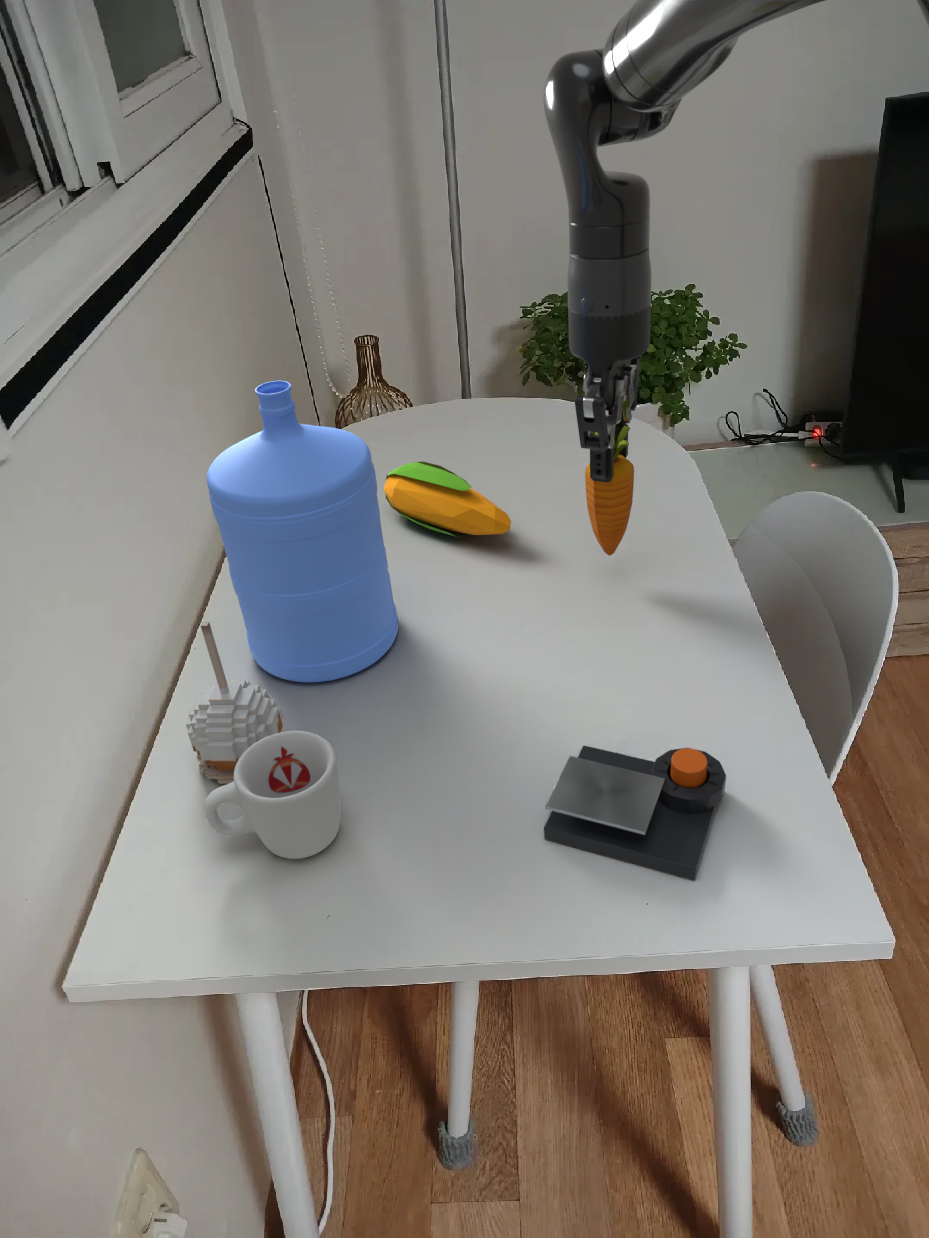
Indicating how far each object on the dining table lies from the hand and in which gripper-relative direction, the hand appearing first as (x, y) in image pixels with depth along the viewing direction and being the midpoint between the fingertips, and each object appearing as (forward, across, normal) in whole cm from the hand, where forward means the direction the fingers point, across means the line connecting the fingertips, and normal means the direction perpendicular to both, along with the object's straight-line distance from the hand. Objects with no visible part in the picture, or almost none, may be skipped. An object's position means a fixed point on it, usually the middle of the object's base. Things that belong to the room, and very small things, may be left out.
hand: (609, 468), depth 97 cm
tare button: (+12, -29, -15) cm, 35 cm away
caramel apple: (+14, -37, +23) cm, 46 cm away
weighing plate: (+11, -33, -10) cm, 37 cm away
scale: (+14, -32, -12) cm, 37 cm away
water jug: (+14, -19, +25) cm, 34 cm away
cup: (+14, -44, +14) cm, 48 cm away
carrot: (+11, 0, 0) cm, 11 cm away
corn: (+14, +6, +22) cm, 27 cm away
